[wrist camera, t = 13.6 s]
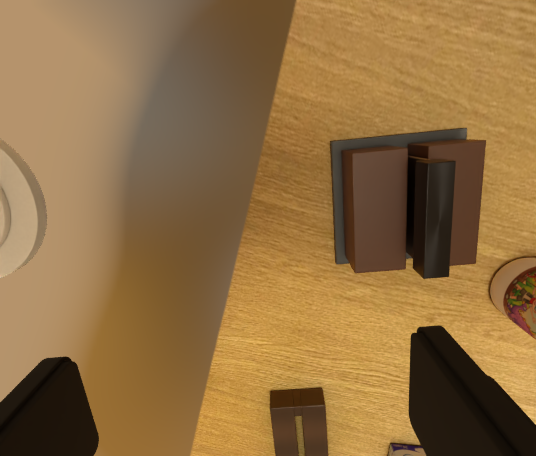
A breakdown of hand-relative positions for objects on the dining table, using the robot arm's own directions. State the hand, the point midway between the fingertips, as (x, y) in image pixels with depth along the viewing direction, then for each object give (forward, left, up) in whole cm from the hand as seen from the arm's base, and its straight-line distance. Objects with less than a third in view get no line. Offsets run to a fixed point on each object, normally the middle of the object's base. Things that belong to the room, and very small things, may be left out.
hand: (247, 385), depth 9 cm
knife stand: (+1, -34, -29) cm, 45 cm away
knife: (+14, -2, -29) cm, 32 cm away
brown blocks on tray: (+14, -2, -29) cm, 33 cm away
